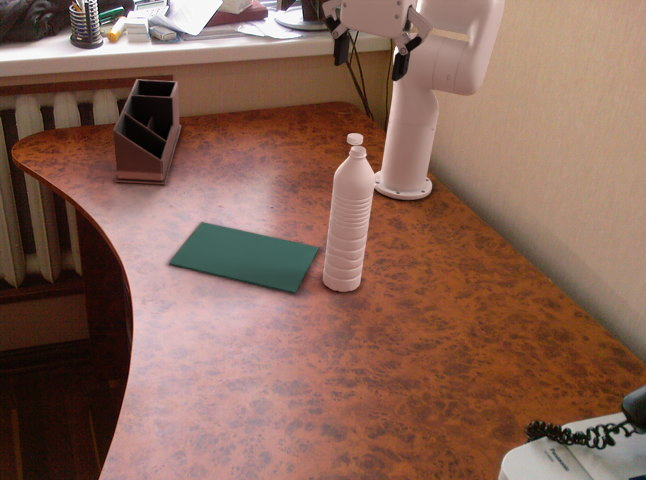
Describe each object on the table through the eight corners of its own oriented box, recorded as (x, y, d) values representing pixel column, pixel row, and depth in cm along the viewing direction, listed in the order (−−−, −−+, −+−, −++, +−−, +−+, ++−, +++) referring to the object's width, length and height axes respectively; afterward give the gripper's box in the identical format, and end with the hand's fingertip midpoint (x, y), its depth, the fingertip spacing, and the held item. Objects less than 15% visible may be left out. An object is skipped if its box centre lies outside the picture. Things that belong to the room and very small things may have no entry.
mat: (202, 223, 141) (202, 221, 140) (318, 249, 135) (318, 247, 135) (169, 264, 129) (169, 262, 129) (295, 294, 124) (295, 292, 124)
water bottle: (362, 293, 125) (382, 158, 110) (324, 292, 125) (339, 156, 110) (356, 264, 132) (374, 133, 117) (320, 263, 132) (334, 132, 117)
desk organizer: (181, 127, 175) (180, 80, 169) (165, 185, 152) (163, 134, 145) (137, 124, 175) (134, 77, 168) (114, 182, 152) (109, 131, 145)
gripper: (454, -46, 101) (431, 78, 111) (342, -66, 108) (331, 52, 118) (432, -37, 95) (410, 92, 105) (317, -59, 102) (306, 64, 113)
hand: (368, 71), depth 112 cm, fingers open, 9 cm apart
